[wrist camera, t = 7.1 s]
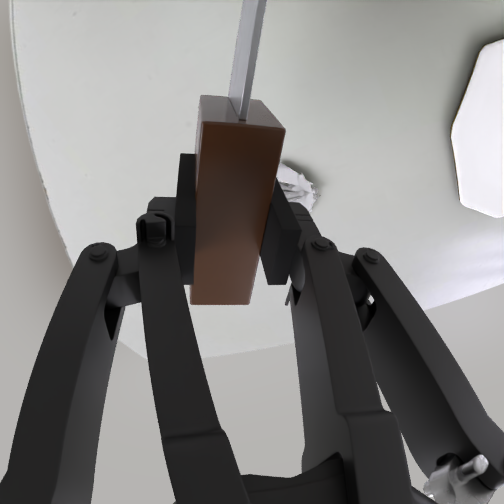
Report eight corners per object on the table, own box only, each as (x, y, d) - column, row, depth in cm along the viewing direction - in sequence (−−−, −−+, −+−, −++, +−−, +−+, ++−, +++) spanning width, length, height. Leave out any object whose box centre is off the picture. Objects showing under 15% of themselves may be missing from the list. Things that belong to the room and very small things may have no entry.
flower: (257, 229, 37) (258, 245, 35) (234, 170, 31) (233, 184, 29) (323, 214, 35) (327, 229, 33) (309, 151, 30) (313, 163, 28)
